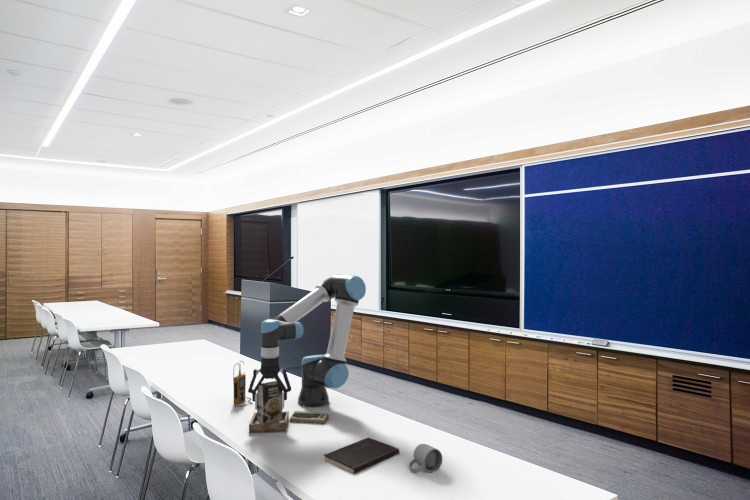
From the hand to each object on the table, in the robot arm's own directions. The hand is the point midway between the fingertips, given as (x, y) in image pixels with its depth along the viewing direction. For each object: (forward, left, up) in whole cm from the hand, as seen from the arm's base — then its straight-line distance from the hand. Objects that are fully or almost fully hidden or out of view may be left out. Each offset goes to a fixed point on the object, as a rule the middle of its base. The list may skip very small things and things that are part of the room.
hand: (269, 408), depth 204 cm
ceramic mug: (-57, +47, -8) cm, 74 cm away
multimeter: (+15, -34, -8) cm, 38 cm away
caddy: (0, 0, -7) cm, 7 cm away
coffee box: (0, 0, -6) cm, 6 cm away
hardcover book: (-37, +35, -8) cm, 51 cm away
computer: (-17, -6, -8) cm, 19 cm away
